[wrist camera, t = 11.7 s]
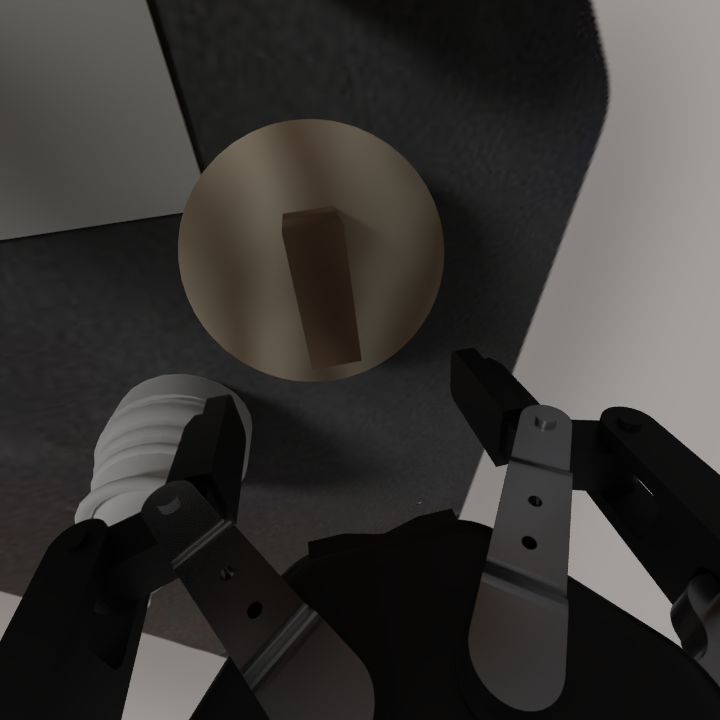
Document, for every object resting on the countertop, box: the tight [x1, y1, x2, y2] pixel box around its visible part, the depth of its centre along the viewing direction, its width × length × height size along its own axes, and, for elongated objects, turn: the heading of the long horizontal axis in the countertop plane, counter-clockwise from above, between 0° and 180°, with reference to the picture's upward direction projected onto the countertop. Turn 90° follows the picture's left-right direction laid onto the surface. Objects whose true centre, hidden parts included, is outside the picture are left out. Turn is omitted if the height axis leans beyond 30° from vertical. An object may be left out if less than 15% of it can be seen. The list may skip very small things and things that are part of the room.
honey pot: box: [75, 374, 252, 608], centre depth 30 cm, size 13×13×18 cm
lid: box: [178, 119, 444, 382], centre depth 22 cm, size 17×17×6 cm
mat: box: [0, 0, 201, 240], centre depth 22 cm, size 18×18×1 cm
